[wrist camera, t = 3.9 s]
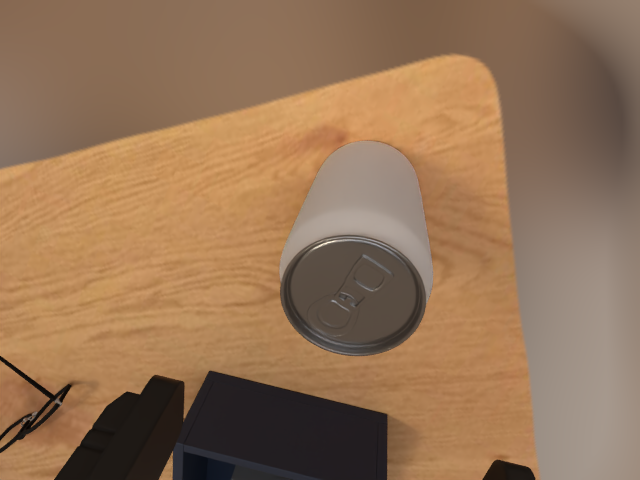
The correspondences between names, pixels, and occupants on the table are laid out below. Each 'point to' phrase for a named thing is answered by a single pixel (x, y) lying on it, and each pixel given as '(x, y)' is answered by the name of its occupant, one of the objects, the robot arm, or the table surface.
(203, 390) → the crate
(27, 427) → the eyeglasses
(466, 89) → the table surface
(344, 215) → the can
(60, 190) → the table surface
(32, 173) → the table surface
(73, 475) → the robot arm
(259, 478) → the grey block
